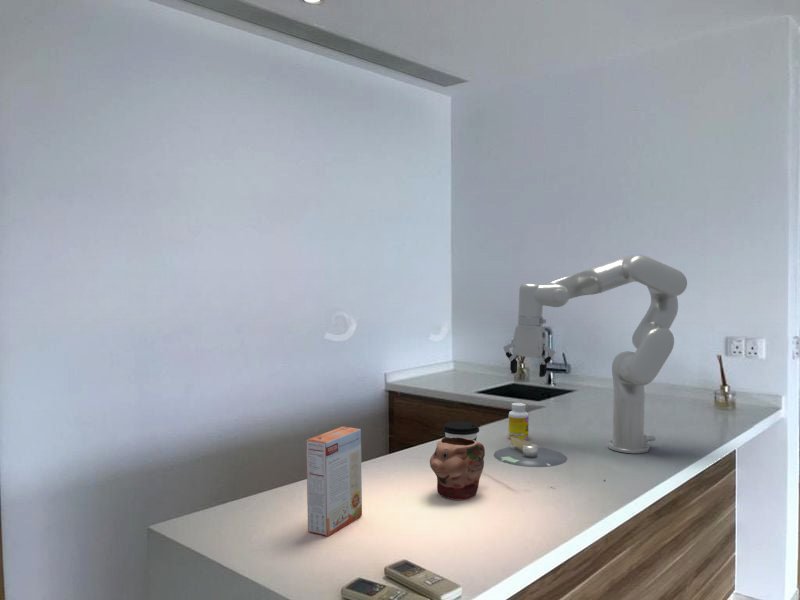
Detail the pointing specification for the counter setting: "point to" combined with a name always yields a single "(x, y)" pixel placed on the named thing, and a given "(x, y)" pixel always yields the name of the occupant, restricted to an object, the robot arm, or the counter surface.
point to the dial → (542, 460)
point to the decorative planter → (458, 467)
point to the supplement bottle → (518, 421)
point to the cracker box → (334, 480)
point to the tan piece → (524, 446)
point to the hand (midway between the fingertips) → (527, 374)
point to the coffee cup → (461, 430)
